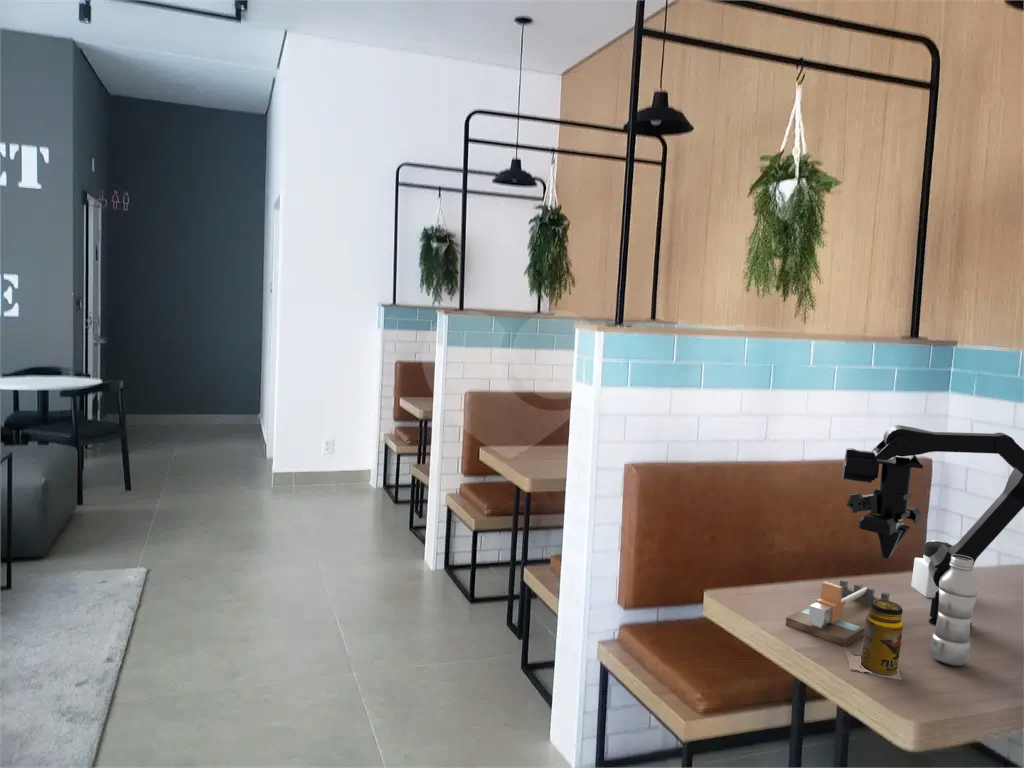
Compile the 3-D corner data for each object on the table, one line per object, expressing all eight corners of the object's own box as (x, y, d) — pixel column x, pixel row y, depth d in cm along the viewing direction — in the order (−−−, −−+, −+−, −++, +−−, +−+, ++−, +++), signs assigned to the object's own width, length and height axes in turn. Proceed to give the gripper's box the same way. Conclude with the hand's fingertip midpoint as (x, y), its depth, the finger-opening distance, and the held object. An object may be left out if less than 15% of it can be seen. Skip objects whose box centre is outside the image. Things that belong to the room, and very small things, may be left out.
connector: (829, 626, 156) (831, 607, 155) (822, 630, 154) (824, 610, 153) (814, 621, 158) (817, 602, 157) (807, 625, 156) (810, 605, 155)
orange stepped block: (843, 617, 159) (846, 584, 158) (831, 623, 155) (835, 590, 155) (825, 611, 161) (829, 579, 161) (814, 617, 158) (818, 584, 157)
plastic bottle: (958, 655, 150) (972, 553, 147) (975, 672, 143) (990, 565, 141) (922, 651, 150) (935, 550, 148) (937, 668, 144) (952, 562, 141)
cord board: (892, 617, 166) (893, 610, 166) (844, 646, 150) (845, 638, 150) (836, 599, 175) (837, 592, 175) (785, 624, 159) (786, 616, 159)
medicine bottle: (957, 600, 179) (964, 548, 178) (925, 598, 179) (932, 546, 178) (940, 588, 186) (947, 539, 185) (910, 586, 186) (916, 536, 185)
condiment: (902, 680, 138) (910, 614, 137) (849, 670, 141) (857, 606, 139) (895, 662, 145) (903, 600, 144) (845, 653, 147) (853, 591, 146)
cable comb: (887, 609, 167) (889, 593, 166) (885, 610, 166) (887, 594, 165) (840, 594, 174) (842, 579, 173) (838, 595, 173) (840, 580, 172)
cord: (868, 593, 170) (869, 588, 170) (826, 615, 156) (826, 609, 156) (862, 592, 171) (863, 586, 170) (820, 613, 157) (820, 607, 157)
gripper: (873, 473, 178) (865, 540, 180) (837, 483, 165) (829, 556, 167) (925, 483, 170) (917, 553, 172) (892, 495, 157) (884, 571, 159)
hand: (886, 558), depth 168 cm, fingers closed
